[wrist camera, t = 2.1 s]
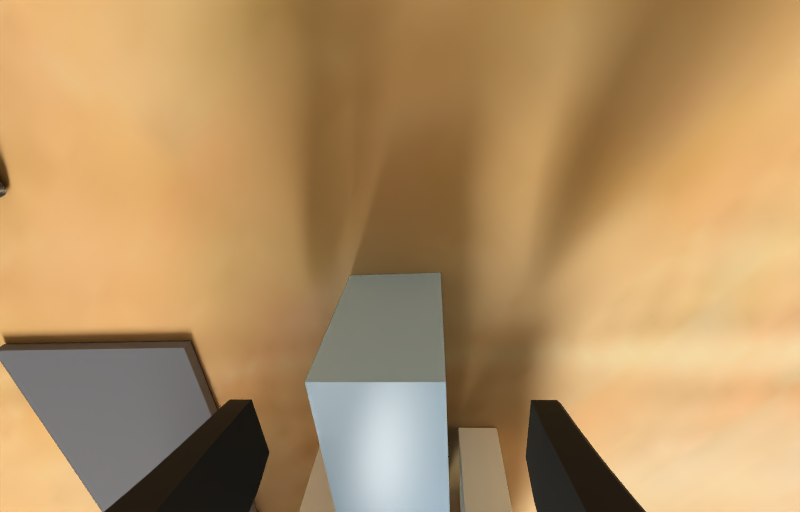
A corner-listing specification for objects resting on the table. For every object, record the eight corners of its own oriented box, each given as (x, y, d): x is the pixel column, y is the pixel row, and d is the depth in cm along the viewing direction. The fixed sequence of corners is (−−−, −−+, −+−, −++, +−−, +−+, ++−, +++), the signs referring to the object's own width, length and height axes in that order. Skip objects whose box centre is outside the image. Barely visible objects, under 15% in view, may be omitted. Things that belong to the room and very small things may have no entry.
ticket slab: (447, 472, 16) (453, 621, 12) (379, 470, 17) (360, 615, 12) (440, 270, 12) (445, 381, 8) (350, 273, 12) (304, 382, 8)
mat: (273, 552, 20) (270, 560, 19) (136, 545, 21) (130, 554, 20) (190, 340, 14) (183, 347, 14) (4, 344, 15) (-7, 350, 14)
